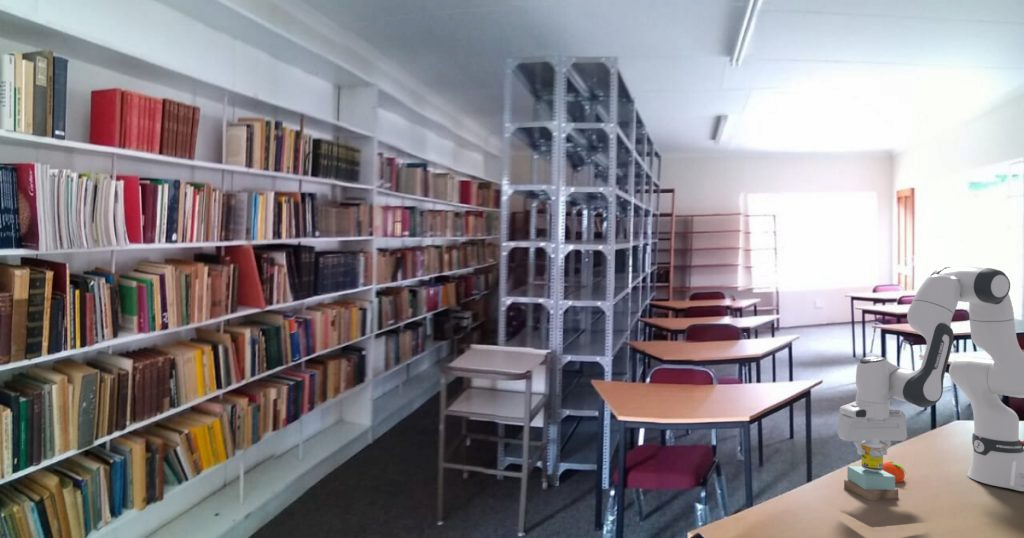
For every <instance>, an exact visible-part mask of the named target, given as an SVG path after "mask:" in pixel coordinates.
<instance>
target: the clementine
mask: <svg viewBox="0 0 1024 538" xmlns="http://www.w3.org/2000/svg"><path fill="white" fill-rule="evenodd" d="M883 470H884V471H885V472H887V473H889V474H891V475H893V476H895V483H902V482H903V481H904V479H905V475H906V474H907V473H906V470H905V469H904V468H903V467H902V466H901V465H900V464H899V463H897V462H893V461H886V462H883Z"/></svg>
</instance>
